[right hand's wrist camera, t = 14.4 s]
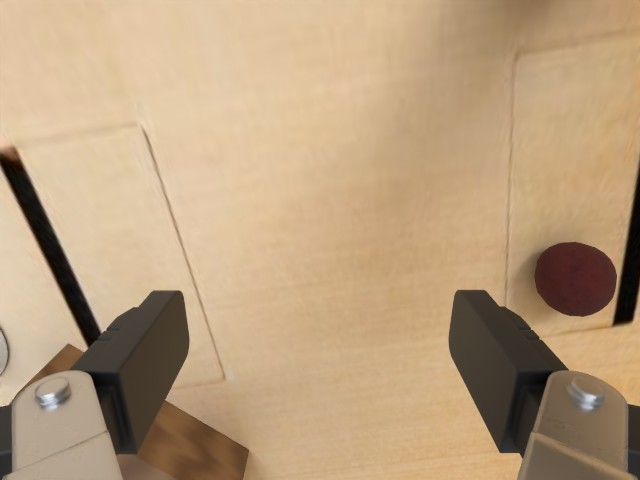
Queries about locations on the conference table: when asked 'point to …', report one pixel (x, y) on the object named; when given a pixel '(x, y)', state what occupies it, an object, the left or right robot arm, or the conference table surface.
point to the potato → (575, 278)
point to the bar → (169, 441)
